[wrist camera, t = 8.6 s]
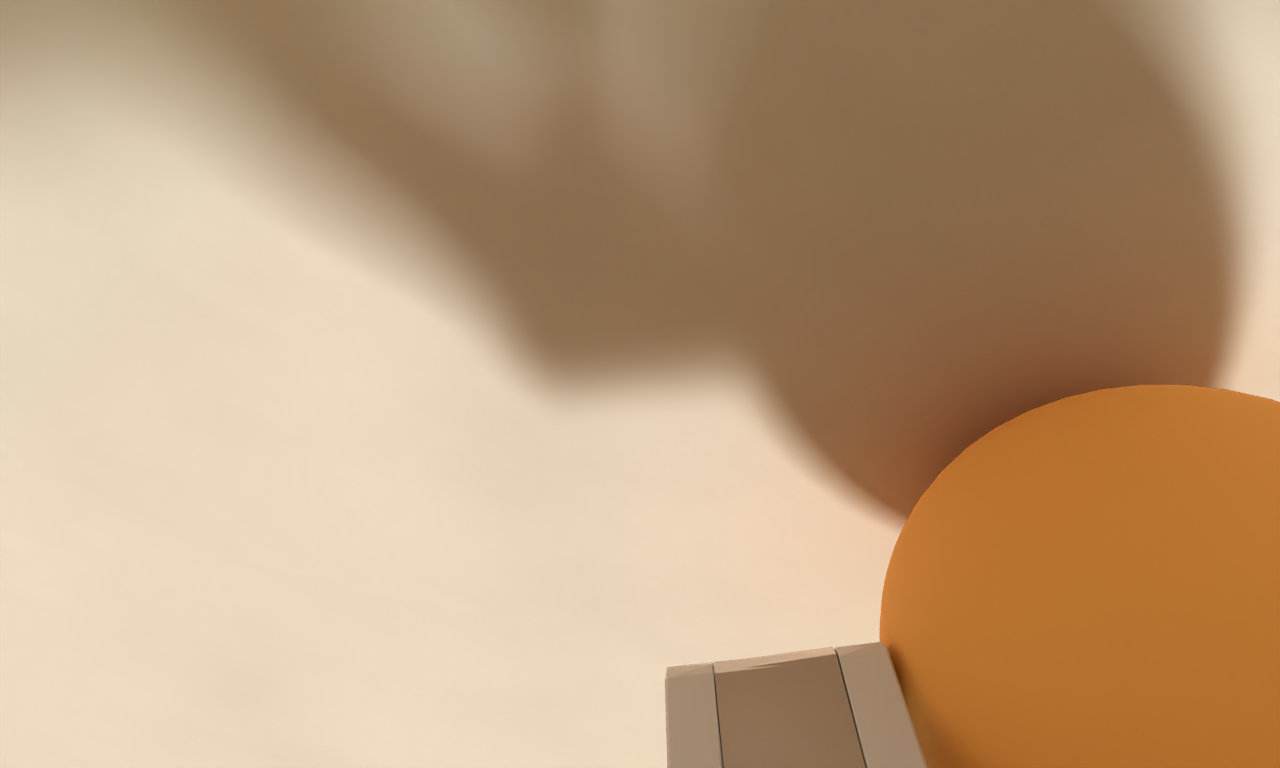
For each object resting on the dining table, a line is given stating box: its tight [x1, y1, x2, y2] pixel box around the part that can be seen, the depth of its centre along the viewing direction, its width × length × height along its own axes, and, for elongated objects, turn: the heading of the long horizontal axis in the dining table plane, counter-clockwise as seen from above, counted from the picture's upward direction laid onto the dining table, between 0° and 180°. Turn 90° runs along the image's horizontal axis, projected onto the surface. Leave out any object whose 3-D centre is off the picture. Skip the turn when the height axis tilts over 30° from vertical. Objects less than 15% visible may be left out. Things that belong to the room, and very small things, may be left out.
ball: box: [880, 385, 1280, 768], centre depth 8 cm, size 6×6×6 cm
